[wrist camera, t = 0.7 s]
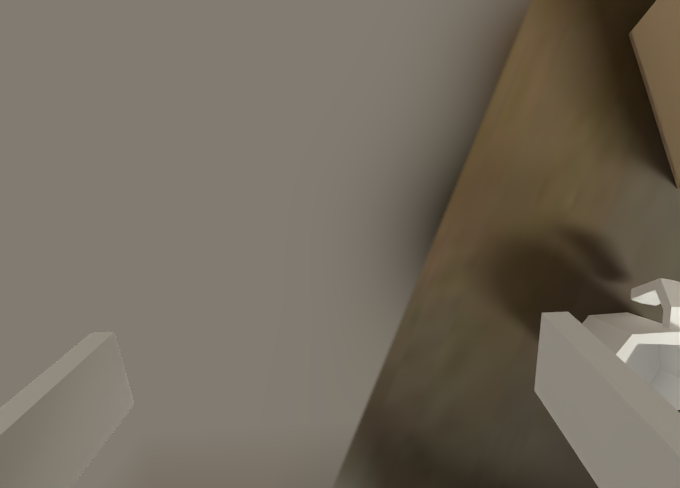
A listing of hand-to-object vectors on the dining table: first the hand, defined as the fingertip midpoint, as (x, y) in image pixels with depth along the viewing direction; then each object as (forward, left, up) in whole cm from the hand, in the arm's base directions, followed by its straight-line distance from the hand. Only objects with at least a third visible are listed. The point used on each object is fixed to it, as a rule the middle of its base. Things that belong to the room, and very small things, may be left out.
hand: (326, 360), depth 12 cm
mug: (-20, -1, -34) cm, 39 cm away
